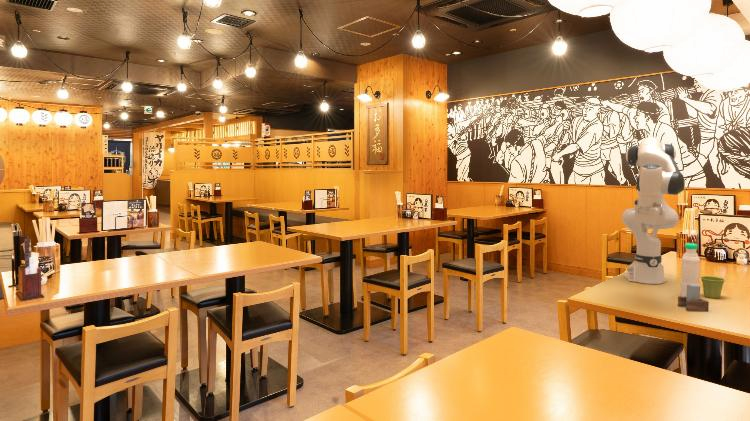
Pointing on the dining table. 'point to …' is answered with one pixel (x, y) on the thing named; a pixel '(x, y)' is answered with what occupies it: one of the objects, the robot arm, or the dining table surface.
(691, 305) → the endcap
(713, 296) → the plant pot
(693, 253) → the water bottle
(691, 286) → the grey tall block
